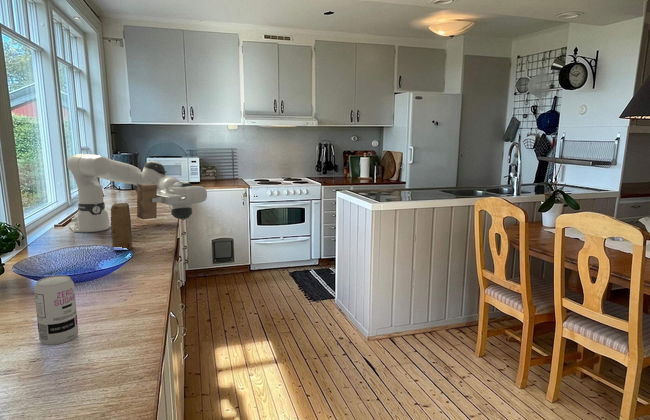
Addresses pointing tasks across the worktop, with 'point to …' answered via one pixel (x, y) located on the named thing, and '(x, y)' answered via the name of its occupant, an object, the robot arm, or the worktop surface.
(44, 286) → the supplement can
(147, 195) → the walnut block
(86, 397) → the worktop surface
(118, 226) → the block
